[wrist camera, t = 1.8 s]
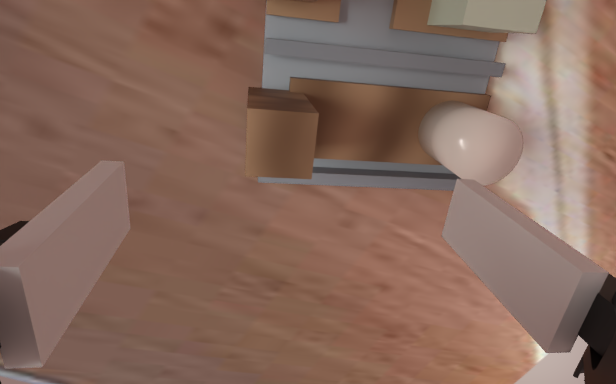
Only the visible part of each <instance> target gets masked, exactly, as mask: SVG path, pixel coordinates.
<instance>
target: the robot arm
mask: <svg viewBox="0 0 616 384" xmlns="http://www.w3.org/2000/svg"><path fill="white" fill-rule="evenodd" d="M129 230H130V219H129V209H128V198H127V188H126V177H125V167H124V162H119V161H100V162H99V163H98V164H97V165H96V166H94V167H93V168H92V169H91V170H90V171H89V172H87V173H86V174H85V175H84V176H83V177H81V178H80V179H79V180H78V181H77V182H76V183H74V184H73V185H72V186H71V187H70V188H68V189H67V190H66V191H65V192H64V193H63V194H61V195H60V196H59V197H58V198H57V199H55V200H54V201H53V202H52V203H51V204H50V205H48V206H47V207H46V208H45V209H44V210H42V211H41V212H40V213H39V214H38V215H37V216H35V217H34V218H33V219H32V220H31V221H19V222H17V223H15V224H13V225H11V226H8V227H6V228H4V229H2V230H0V351H1V355H2V358H3V362H4V365H5V368H34V367H43V365H44V364H45V362H46V361H47V359H48V357H49V356H50V354H51V353H52V351H53V350H54V348H55V346H56V345H57V343H58V342H59V340H60V339H61V337H62V335H63V334H64V332H65V331H66V329H67V327H68V326H69V324H70V323H71V321H72V320H73V318H74V316H75V315H76V313H77V312H78V310H79V309H80V307H81V305H82V304H83V302H84V301H85V299H86V298H87V296H88V294H89V293H90V291H91V290H92V288H93V286H94V285H95V283H96V282H97V280H98V279H99V277H100V275H101V274H102V272H103V271H104V269H105V268H106V266H107V264H108V263H109V261H110V260H111V258H112V256H113V255H114V253H115V252H116V250H117V249H118V247H119V245H120V244H121V242H122V241H123V239H124V238H125V236H126V234H127V233H128V231H129ZM442 237H443V238H444V240H445V241H446V242H447V243H448V244H449V245H450V246H451V247H452V248H453V250H454V251H455V252H456V253H457V254H458V255H459V256H460V257H461V258H462V260H463V261H464V262H465V263H466V264H467V265H468V266H469V267H470V269H471V270H472V271H473V272H474V273H475V274H476V275H477V276H478V277H479V279H480V280H481V281H482V282H483V283H484V284H485V285H486V286H487V287H488V289H489V290H490V291H491V292H492V293H493V294H494V295H495V296H496V297H497V299H498V300H499V301H500V302H501V303H502V304H503V305H504V306H505V307H506V309H507V310H508V311H509V312H510V313H511V314H512V315H513V316H514V317H515V319H516V320H517V321H518V322H519V323H520V324H521V325H522V326H523V328H524V329H525V330H526V331H527V332H528V333H529V334H530V335H531V336H532V338H533V339H534V340H535V341H536V342H537V343H538V344H539V345H540V346H541V348H542V349H543V350H544V351H545V352H546V353H556V352H557V353H559V352H560V353H561V352H570V351H571V349H572V347H573V345H574V343H575V341H576V339H577V337H578V335H579V336H580V337H581V338H582V339H583V340H584V341H585V342H587V344H588V346H587V349H586V350H585V352H584V354H583V356H582V358H581V360H580V362H579V364H578V366H577V368H576V370H575V372H574V374H573V376H574V377H576V378H578V376H579V374H580V373H584V376H585V380H584V381H585V384H616V278H615V277H613V276H612V275H610V274H609V272H607V271H606V270H604V269H603V268H601V267H600V266H599V265H597V264H596V263H594V262H593V261H591V260H590V259H588V258H587V257H585V256H584V255H583V254H581V253H580V252H578V251H577V250H575V249H574V248H572V247H571V246H569V245H568V244H567V243H565V242H564V241H562V240H561V239H559V238H558V237H556V236H555V235H553V234H552V233H551V232H549V231H548V230H546V229H545V228H543V227H542V226H540V225H539V224H538V223H536V222H535V221H533V220H532V219H530V218H529V217H527V216H526V215H524V214H523V213H522V212H520V211H519V210H517V209H516V208H514V207H513V206H511V205H510V204H508V203H507V202H506V201H504V200H503V199H501V198H500V197H498V196H497V195H495V194H494V193H492V192H491V191H490V190H488V189H487V188H485V187H484V186H482V185H481V184H479V183H478V182H476V181H475V180H471V179H457V181H456V184H455V188H454V192H453V195H452V199H451V203H450V206H449V210H448V214H447V217H446V221H445V225H444V228H443V232H442ZM0 384H1V382H0Z"/></svg>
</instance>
